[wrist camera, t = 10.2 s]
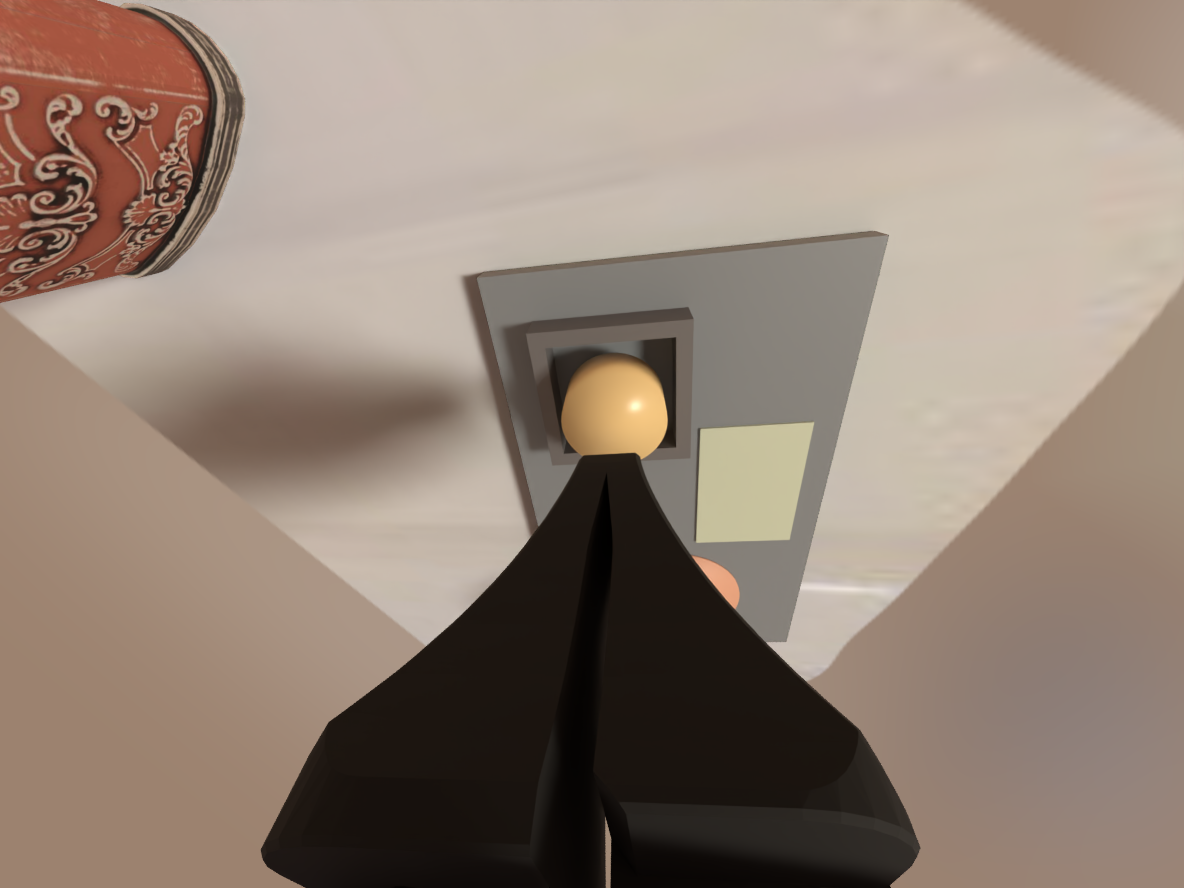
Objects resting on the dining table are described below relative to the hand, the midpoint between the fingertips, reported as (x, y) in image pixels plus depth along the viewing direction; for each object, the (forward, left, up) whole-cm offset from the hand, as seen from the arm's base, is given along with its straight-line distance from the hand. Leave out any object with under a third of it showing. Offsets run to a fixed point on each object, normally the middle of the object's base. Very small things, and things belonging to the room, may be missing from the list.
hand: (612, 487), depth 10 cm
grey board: (-6, -2, -7) cm, 9 cm away
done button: (0, 0, -5) cm, 5 cm away
